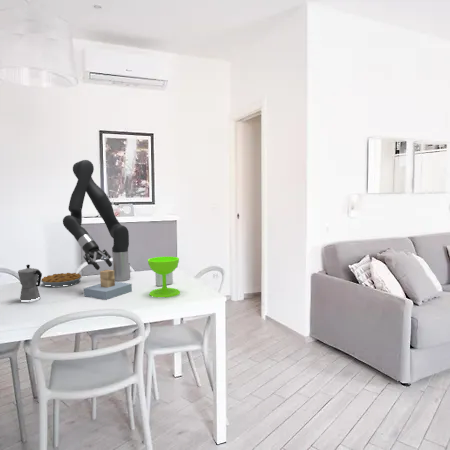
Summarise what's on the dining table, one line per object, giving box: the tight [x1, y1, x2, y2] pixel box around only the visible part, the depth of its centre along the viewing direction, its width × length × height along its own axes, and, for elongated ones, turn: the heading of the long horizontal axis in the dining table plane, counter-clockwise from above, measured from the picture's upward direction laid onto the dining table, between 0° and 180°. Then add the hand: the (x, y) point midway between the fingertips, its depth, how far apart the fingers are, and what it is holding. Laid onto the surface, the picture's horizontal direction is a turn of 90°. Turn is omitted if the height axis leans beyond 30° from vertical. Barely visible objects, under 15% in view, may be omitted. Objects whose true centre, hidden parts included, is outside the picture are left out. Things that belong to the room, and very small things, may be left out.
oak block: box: [99, 269, 116, 288], centre depth 205 cm, size 5×5×8 cm
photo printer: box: [154, 272, 174, 287], centre depth 222 cm, size 10×4×12 cm, turn 134°
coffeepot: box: [17, 264, 43, 300], centre depth 195 cm, size 15×9×18 cm, turn 66°
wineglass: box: [147, 256, 181, 298], centre depth 203 cm, size 16×16×18 cm
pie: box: [40, 272, 82, 286], centre depth 231 cm, size 22×22×5 cm
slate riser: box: [83, 281, 133, 300], centre depth 206 cm, size 18×16×4 cm
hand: (105, 267), depth 206 cm, fingers open, 8 cm apart
